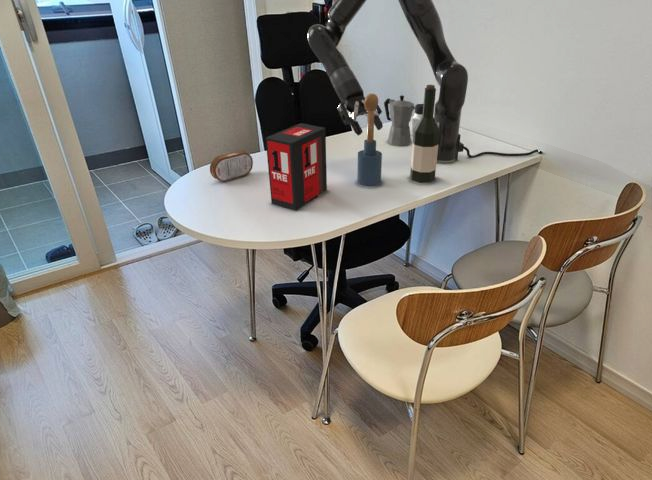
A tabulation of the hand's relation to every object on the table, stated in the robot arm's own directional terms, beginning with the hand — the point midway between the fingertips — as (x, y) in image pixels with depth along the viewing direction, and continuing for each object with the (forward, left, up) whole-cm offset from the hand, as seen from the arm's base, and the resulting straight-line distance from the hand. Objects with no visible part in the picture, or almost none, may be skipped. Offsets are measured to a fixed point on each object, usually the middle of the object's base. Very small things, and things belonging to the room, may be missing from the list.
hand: (370, 131), depth 152 cm
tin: (+42, -16, -17) cm, 48 cm away
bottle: (0, 0, -17) cm, 17 cm away
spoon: (0, 0, -16) cm, 16 cm away
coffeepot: (-24, -37, -17) cm, 47 cm away
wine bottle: (-18, +2, -17) cm, 25 cm away
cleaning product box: (+24, +5, -17) cm, 30 cm away
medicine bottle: (-37, -44, -17) cm, 60 cm away
